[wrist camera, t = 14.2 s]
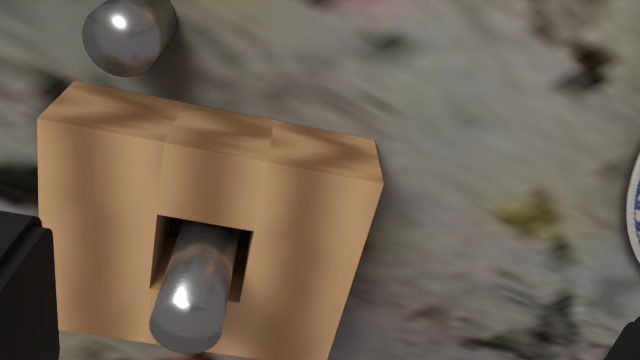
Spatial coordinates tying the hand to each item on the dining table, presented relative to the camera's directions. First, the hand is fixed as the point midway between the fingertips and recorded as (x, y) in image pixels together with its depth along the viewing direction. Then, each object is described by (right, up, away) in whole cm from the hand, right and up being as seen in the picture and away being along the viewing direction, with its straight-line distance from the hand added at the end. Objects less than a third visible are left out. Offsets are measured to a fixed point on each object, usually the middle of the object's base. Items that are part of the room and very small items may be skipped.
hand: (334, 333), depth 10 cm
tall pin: (-8, 0, +33) cm, 34 cm away
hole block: (-8, 0, +33) cm, 34 cm away
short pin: (-11, +12, +26) cm, 31 cm away
